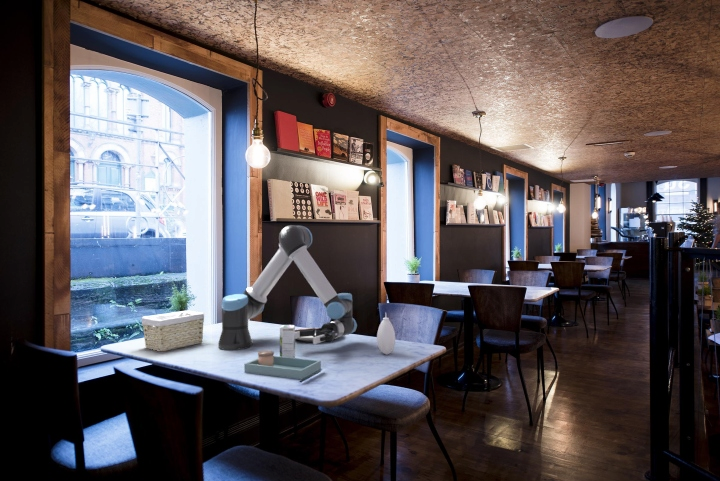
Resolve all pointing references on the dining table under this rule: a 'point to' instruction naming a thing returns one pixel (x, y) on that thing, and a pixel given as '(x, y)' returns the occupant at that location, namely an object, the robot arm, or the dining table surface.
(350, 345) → the dining table surface
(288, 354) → the syrup box
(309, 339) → the dinner plate
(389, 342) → the air blower bulb
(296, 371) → the tray
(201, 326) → the storage basket
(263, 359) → the jar
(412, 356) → the dining table surface
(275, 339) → the dining table surface
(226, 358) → the dining table surface
